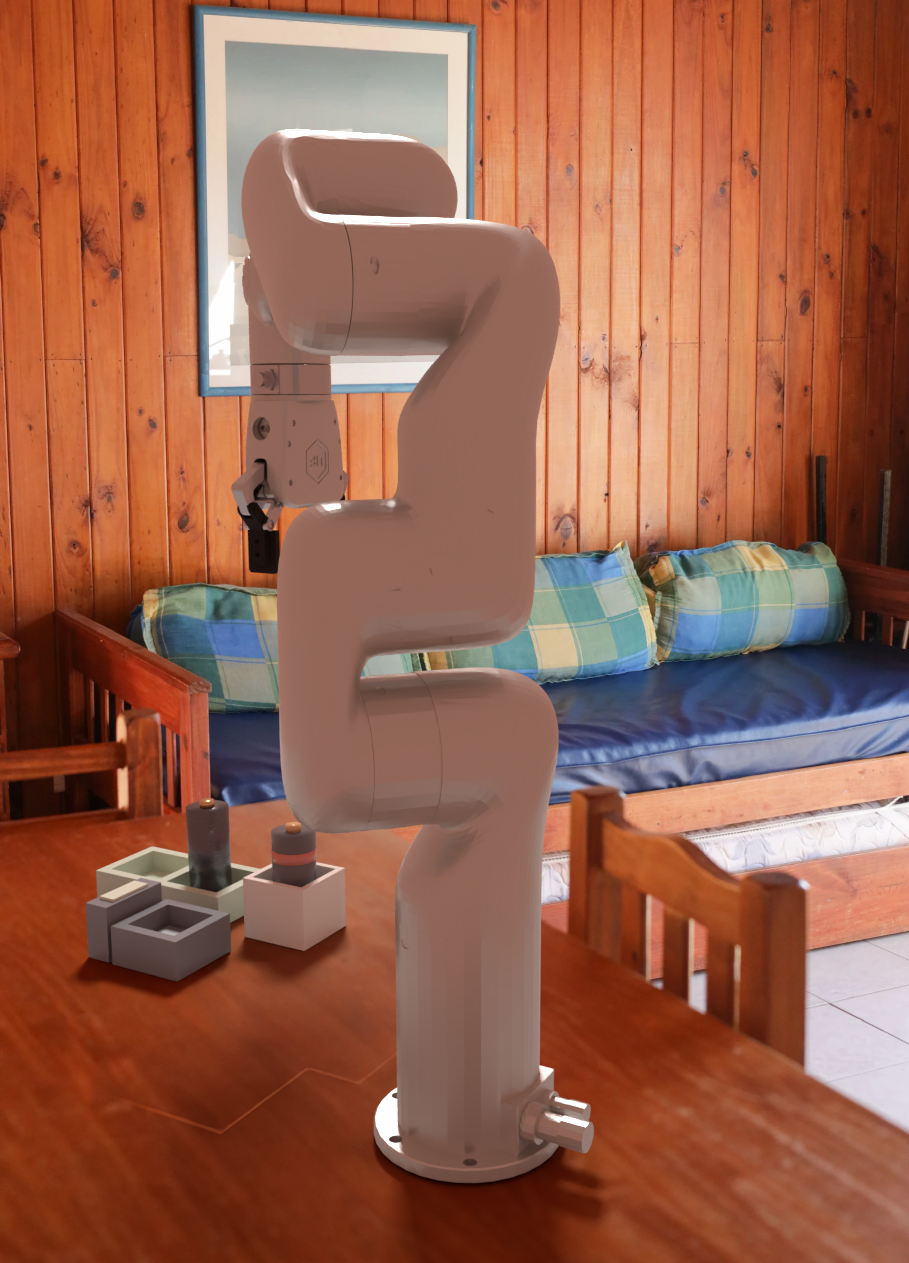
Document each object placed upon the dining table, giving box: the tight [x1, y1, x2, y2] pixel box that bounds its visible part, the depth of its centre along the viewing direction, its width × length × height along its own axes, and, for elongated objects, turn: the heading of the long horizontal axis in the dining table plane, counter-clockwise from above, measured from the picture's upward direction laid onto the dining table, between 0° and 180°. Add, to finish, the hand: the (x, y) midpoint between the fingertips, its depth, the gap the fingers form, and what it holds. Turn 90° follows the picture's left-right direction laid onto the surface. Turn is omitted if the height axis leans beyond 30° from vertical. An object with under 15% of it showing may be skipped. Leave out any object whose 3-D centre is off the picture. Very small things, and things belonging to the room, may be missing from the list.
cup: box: [243, 821, 347, 952], centre depth 123 cm, size 7×7×10 cm
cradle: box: [85, 878, 232, 983], centre depth 118 cm, size 10×7×5 cm
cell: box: [185, 797, 232, 892], centre depth 129 cm, size 4×4×10 cm
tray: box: [95, 846, 261, 924], centre depth 131 cm, size 15×8×3 cm, turn 61°
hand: (295, 566), depth 129 cm, fingers open, 9 cm apart
